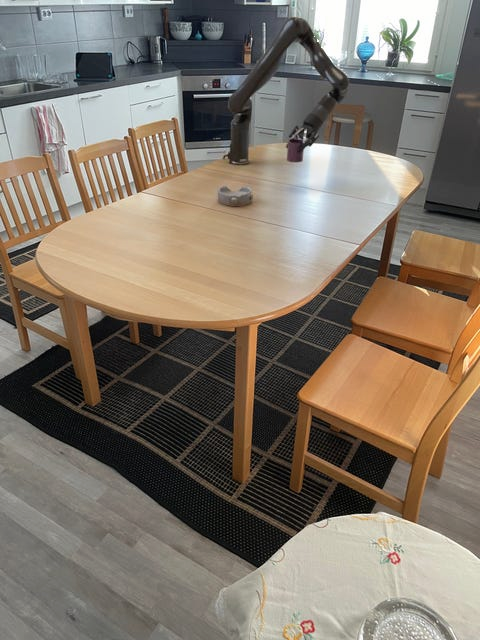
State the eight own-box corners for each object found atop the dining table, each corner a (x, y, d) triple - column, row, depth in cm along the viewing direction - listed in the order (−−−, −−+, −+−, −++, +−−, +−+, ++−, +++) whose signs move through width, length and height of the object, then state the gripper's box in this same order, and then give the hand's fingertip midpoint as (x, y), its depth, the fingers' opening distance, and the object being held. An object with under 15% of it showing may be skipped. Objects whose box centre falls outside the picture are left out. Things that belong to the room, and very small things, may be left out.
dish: (213, 198, 208) (213, 186, 205) (244, 194, 212) (244, 183, 209) (224, 209, 196) (225, 197, 194) (257, 205, 201) (257, 193, 198)
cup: (286, 162, 210) (287, 142, 205) (287, 157, 215) (288, 138, 211) (302, 162, 209) (303, 143, 204) (303, 158, 214) (304, 139, 210)
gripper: (301, 109, 210) (277, 141, 211) (323, 115, 200) (298, 148, 201) (309, 121, 216) (286, 152, 217) (331, 127, 206) (307, 159, 206)
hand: (292, 150), depth 209 cm, fingers closed on cup, 7 cm apart
